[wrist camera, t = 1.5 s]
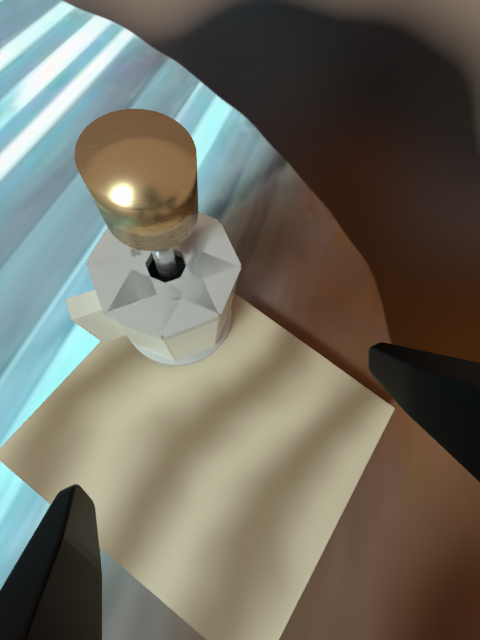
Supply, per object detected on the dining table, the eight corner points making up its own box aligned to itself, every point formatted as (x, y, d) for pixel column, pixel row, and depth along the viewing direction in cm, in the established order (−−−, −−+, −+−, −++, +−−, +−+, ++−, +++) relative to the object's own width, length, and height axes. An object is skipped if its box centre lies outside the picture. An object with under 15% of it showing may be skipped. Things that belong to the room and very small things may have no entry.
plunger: (195, 239, 18) (185, 80, 10) (225, 307, 17) (245, 195, 9) (118, 264, 17) (29, 109, 9) (145, 337, 16) (74, 245, 8)
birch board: (386, 408, 23) (394, 408, 22) (254, 668, 17) (257, 683, 16) (182, 261, 25) (182, 255, 24) (4, 453, 19) (-7, 455, 18)
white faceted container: (207, 255, 24) (208, 184, 17) (247, 341, 22) (267, 304, 15) (92, 293, 22) (35, 231, 15) (125, 391, 20) (79, 378, 13)
